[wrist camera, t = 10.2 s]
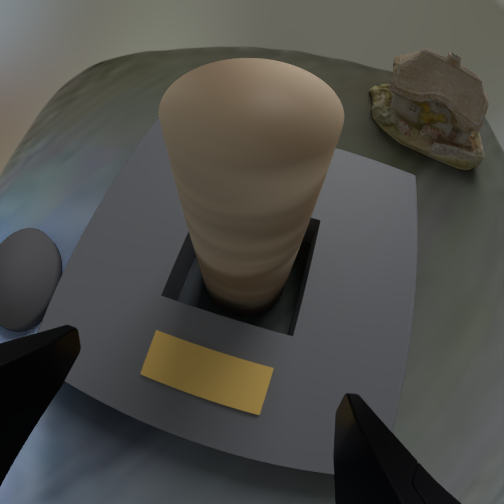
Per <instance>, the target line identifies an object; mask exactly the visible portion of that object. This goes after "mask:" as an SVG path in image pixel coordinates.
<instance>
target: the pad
mask: <svg viewBox="0 0 504 504" xmlns="http://www.w3.org/2000/svg"><path fill="white" fill-rule="evenodd" d="M61 276H62V261H61V256H60V253H59V250H58V248H57V246H56V245H55V243H54V242H53V241H52V240H51V239H50V238H49V237H48V236H47V235H46V234H45V233H44V232H42V231H40V230H38V229H35V228H26V229H21V230H19V231H16V232H15V233H13V234H11V235H10V236H9V237H7V238H6V239H5V240H4V241H3V242H2V243H1V244H0V326H2V327H4V328H6V329H9V330H11V331H25V330H28V329H30V328H32V327H34V326H35V325H37V324H38V323H39V322H40V321H41V320H42V319H43V318H44V316H45V313H46V311H47V308H48V306H49V303H50V301H51V299H52V296H53V294H54V292H55V290H56V287H57V285H58V283H59V281H60V279H61Z"/></svg>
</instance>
